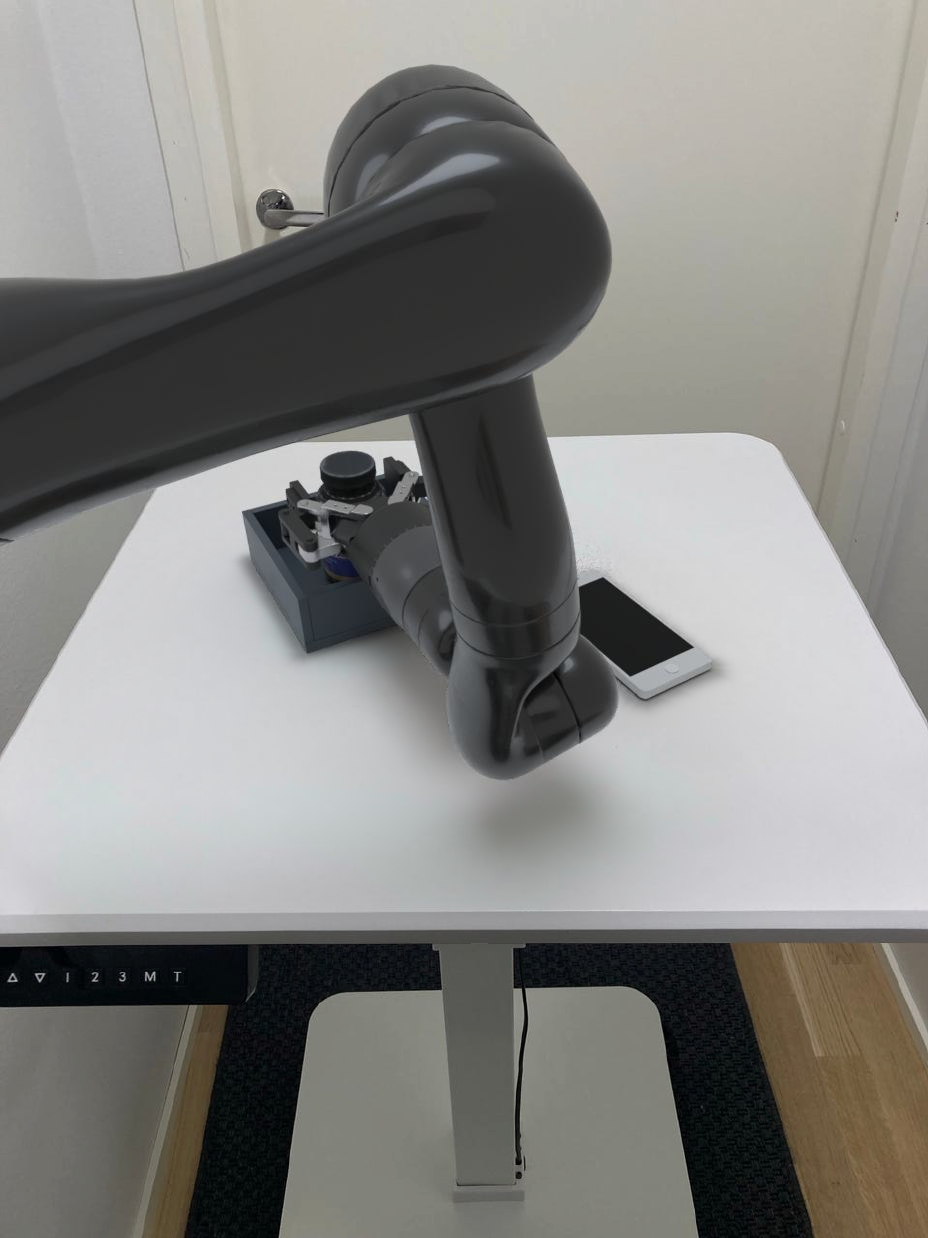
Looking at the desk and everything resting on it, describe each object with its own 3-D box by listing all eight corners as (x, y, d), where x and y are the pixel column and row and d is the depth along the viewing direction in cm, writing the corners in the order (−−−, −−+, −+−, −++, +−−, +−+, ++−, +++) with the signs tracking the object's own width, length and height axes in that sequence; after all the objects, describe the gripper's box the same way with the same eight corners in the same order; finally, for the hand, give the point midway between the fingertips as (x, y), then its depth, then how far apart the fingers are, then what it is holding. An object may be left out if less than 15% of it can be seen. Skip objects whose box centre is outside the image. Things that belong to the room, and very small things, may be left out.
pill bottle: (311, 573, 89) (295, 464, 82) (361, 545, 92) (349, 438, 85) (356, 599, 85) (343, 488, 78) (407, 569, 89) (398, 460, 82)
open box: (306, 653, 81) (297, 600, 78) (251, 561, 92) (241, 510, 89) (473, 599, 86) (472, 547, 83) (402, 518, 98) (398, 469, 94)
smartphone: (643, 701, 75) (644, 691, 74) (529, 601, 86) (529, 592, 85) (713, 668, 78) (714, 658, 77) (594, 575, 88) (594, 567, 88)
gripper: (505, 504, 73) (414, 419, 84) (324, 556, 68) (254, 458, 79) (504, 586, 77) (418, 495, 89) (335, 640, 72) (267, 537, 84)
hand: (341, 478), depth 84 cm, fingers open, 8 cm apart
